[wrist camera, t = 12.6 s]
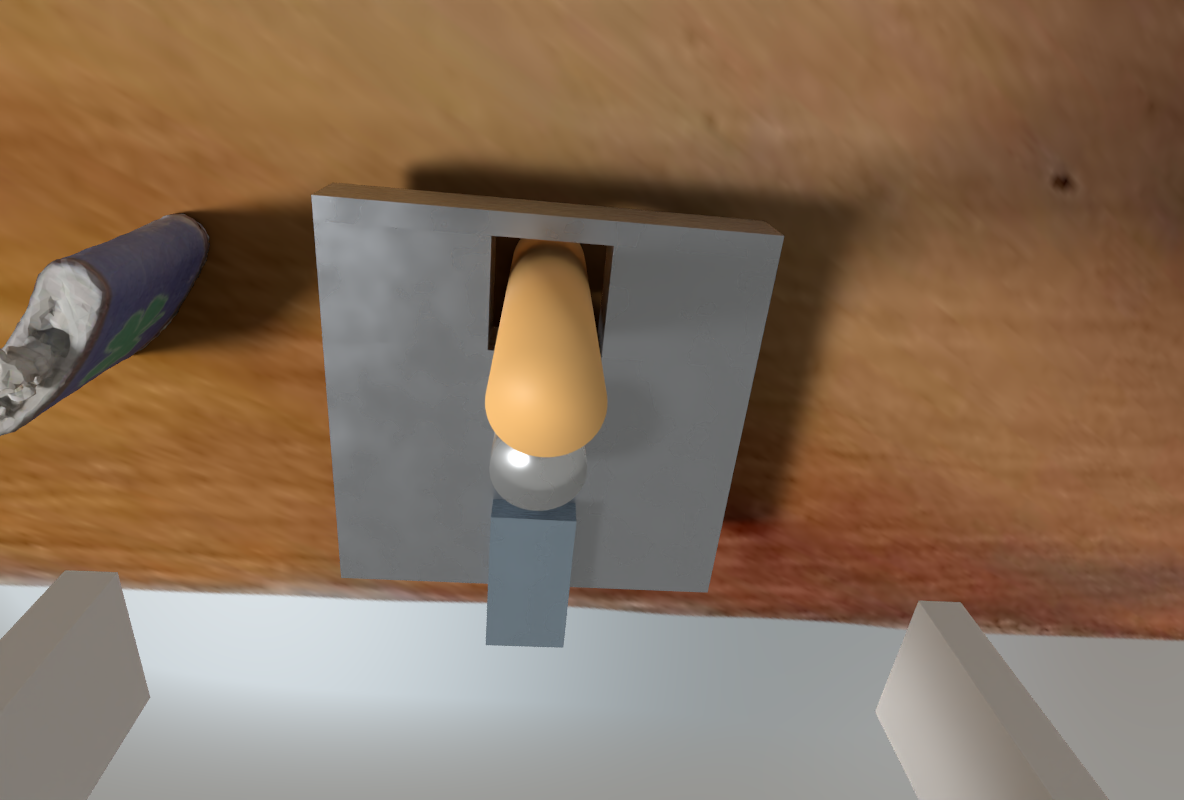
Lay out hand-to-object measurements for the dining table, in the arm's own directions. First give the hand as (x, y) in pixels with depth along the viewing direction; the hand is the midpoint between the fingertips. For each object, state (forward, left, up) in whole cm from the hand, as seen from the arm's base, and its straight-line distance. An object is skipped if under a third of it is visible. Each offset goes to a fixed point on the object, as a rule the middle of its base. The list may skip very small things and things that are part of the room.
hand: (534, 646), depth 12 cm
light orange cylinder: (0, 0, -26) cm, 26 cm away
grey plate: (+7, 0, -25) cm, 27 cm away
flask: (+3, -19, -26) cm, 32 cm away
